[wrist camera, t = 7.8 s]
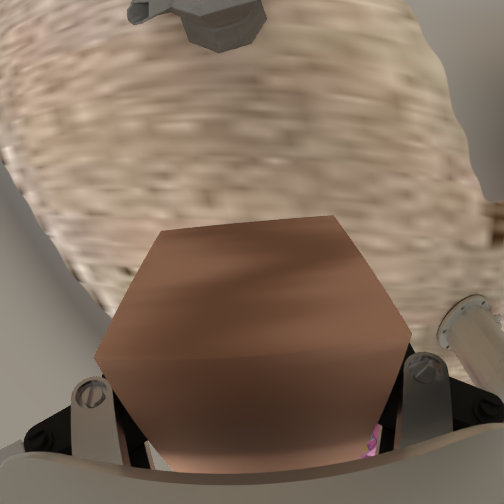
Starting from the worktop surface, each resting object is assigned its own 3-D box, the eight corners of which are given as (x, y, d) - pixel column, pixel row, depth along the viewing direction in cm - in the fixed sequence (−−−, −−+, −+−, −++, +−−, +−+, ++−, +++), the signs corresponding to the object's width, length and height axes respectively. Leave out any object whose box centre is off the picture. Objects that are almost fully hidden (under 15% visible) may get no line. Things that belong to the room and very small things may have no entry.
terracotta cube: (333, 215, 10) (411, 333, 5) (326, 342, 13) (358, 460, 8) (161, 231, 10) (93, 357, 5) (193, 353, 13) (176, 473, 8)
